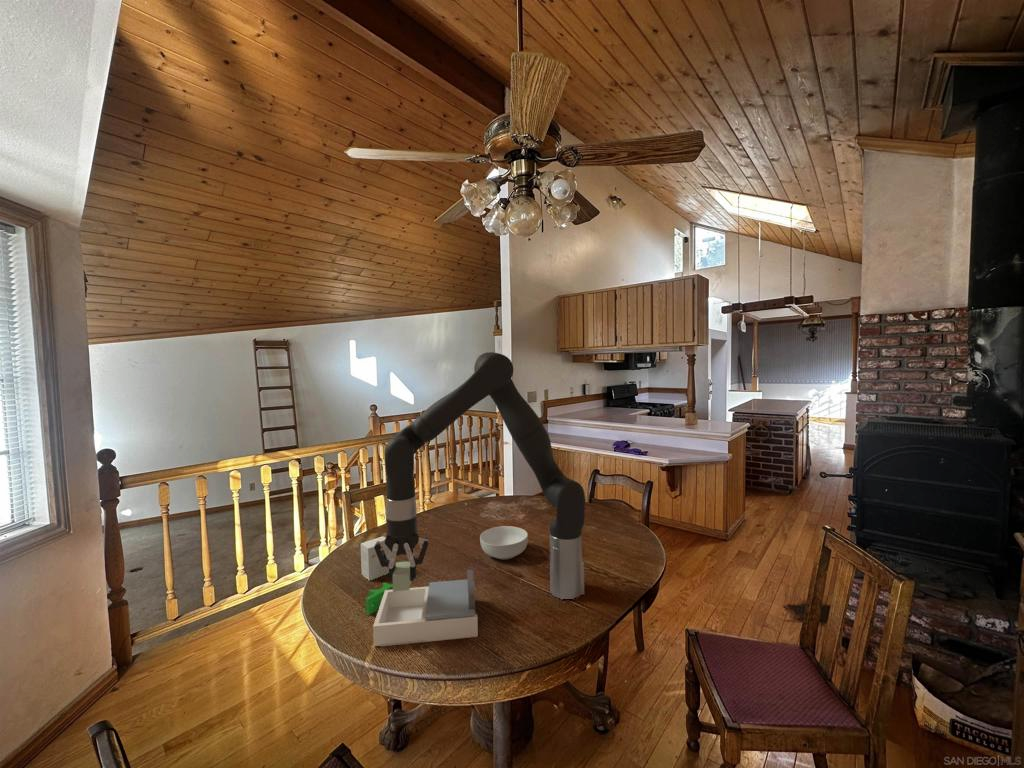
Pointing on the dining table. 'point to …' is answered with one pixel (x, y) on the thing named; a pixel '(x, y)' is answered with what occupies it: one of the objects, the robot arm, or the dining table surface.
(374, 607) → the pipe clamp
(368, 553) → the small box
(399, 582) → the pale green block
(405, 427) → the robot arm
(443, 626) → the housing
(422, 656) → the dining table surface
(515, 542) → the cereal bowl
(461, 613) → the lid
